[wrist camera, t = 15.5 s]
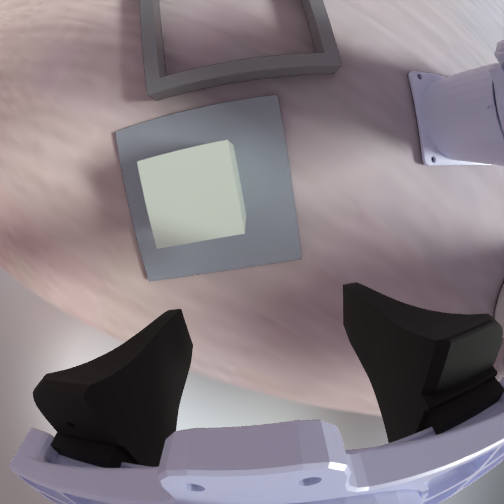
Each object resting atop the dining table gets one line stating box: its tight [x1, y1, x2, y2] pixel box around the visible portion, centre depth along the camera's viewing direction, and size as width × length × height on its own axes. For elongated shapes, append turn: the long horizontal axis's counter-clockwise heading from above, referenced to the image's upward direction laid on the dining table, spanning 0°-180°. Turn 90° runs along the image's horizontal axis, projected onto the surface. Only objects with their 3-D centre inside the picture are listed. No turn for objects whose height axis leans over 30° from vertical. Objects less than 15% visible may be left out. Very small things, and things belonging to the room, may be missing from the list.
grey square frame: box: [140, 0, 342, 100], centre depth 14 cm, size 13×13×2 cm
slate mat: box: [115, 95, 301, 281], centre depth 19 cm, size 12×12×1 cm
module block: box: [137, 140, 246, 249], centre depth 17 cm, size 5×5×5 cm
